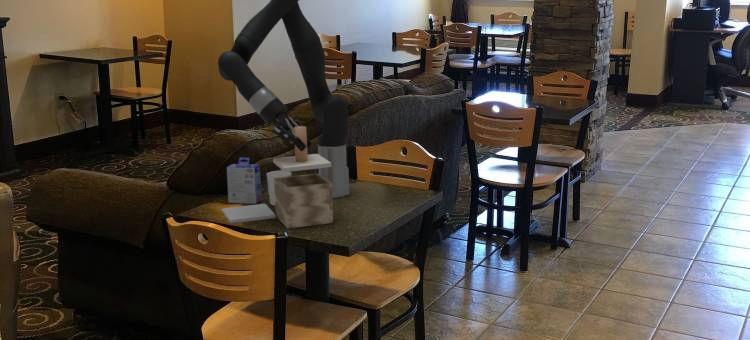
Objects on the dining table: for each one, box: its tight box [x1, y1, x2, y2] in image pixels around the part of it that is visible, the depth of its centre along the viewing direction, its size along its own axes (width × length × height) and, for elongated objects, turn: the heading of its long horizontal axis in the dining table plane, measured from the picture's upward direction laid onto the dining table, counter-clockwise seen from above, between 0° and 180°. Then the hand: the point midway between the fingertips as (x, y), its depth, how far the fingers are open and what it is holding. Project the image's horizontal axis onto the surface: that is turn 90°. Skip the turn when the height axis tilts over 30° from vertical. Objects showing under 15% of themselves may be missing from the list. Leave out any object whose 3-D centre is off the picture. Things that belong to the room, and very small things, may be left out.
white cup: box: [266, 170, 292, 207], centre depth 262 cm, size 8×8×10 cm
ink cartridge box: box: [226, 156, 263, 205], centre depth 265 cm, size 10×6×14 cm, turn 78°
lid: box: [272, 125, 331, 172], centre depth 240 cm, size 14×14×11 cm
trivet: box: [220, 203, 277, 224], centre depth 251 cm, size 14×14×1 cm
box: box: [274, 173, 334, 229], centre depth 243 cm, size 14×14×12 cm
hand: (307, 147), depth 239 cm, fingers closed on lid, 3 cm apart
